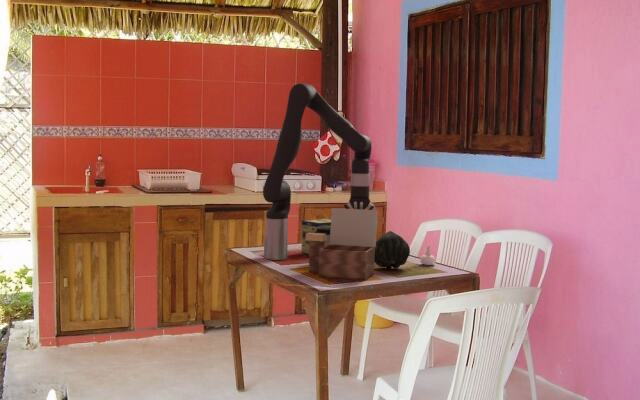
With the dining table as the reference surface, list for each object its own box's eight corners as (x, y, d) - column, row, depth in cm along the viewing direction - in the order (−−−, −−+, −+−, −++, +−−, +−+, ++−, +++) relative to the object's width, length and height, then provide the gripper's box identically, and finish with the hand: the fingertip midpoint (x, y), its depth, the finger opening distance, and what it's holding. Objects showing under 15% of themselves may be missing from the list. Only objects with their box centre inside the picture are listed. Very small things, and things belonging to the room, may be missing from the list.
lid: (331, 208, 277) (332, 208, 278) (329, 244, 276) (330, 244, 276) (377, 210, 272) (377, 210, 272) (375, 247, 270) (375, 247, 271)
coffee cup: (316, 266, 286) (316, 229, 285) (313, 262, 295) (313, 227, 294) (339, 266, 287) (339, 229, 286) (335, 262, 296) (335, 226, 295)
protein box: (300, 255, 313) (301, 220, 312) (326, 252, 324) (326, 218, 323) (316, 258, 306) (316, 222, 304) (342, 255, 316) (342, 220, 315)
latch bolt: (305, 240, 272) (305, 234, 272) (308, 239, 276) (308, 232, 276) (323, 241, 270) (323, 235, 270) (325, 240, 274) (326, 233, 274)
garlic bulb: (427, 262, 301) (428, 243, 301) (438, 264, 296) (439, 245, 296) (417, 263, 297) (417, 245, 297) (427, 265, 292) (428, 246, 292)
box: (302, 275, 265) (302, 243, 264) (313, 269, 278) (314, 239, 277) (365, 280, 258) (366, 247, 257) (374, 274, 271) (374, 242, 270)
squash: (366, 267, 286) (367, 230, 285) (399, 265, 292) (400, 229, 290) (381, 273, 273) (382, 234, 272) (415, 271, 278) (416, 233, 277)
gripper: (341, 184, 280) (340, 228, 281) (374, 185, 276) (373, 229, 277) (346, 183, 287) (345, 226, 288) (378, 184, 283) (377, 227, 285)
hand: (359, 227), depth 283 cm, fingers closed
